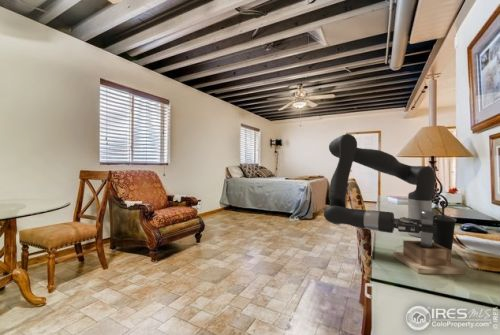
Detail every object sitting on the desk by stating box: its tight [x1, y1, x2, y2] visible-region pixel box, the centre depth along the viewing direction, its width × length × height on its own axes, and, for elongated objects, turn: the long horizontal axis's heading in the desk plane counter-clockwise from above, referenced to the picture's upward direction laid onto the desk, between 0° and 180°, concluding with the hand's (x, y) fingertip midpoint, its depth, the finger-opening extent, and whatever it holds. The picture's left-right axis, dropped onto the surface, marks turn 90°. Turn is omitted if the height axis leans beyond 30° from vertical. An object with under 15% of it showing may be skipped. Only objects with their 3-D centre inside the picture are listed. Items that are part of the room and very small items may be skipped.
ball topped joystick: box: [420, 210, 434, 249], centre depth 80 cm, size 4×3×17 cm
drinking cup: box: [432, 200, 457, 253], centre depth 89 cm, size 8×8×20 cm
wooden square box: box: [392, 240, 466, 275], centre depth 80 cm, size 14×14×6 cm
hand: (436, 228), depth 78 cm, fingers open, 4 cm apart
